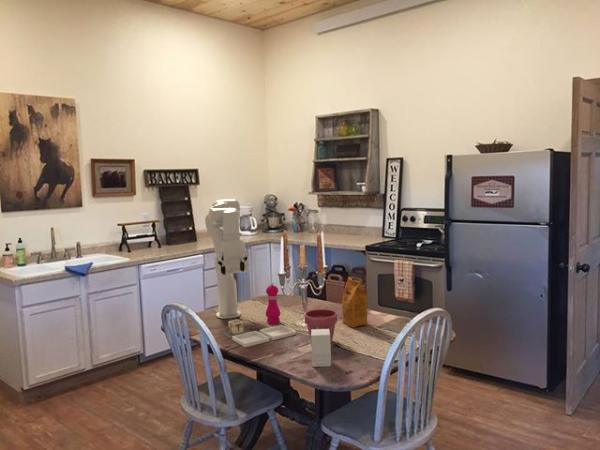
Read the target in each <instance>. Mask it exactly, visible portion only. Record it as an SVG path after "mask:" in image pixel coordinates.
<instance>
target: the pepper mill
mask: <svg viewBox="0 0 600 450" xmlns="http://www.w3.org/2000/svg"><path fill="white" fill-rule="evenodd" d="M265 293H266V296H267V297H266V298H267V300H268V305H267V307H266V309H265V317H266V318H267V319H266V322H267V323H268V324H272V325H277V324H279V323H280V322H281V320H280V319H281V318H280V316H281V310H280V307H279V305H278V302H277V301H278V293H279V288H278V287H277V286H276V285H275V284H274V282H270V283H269V285H268V286H267V287H266V289H265Z"/></svg>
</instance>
